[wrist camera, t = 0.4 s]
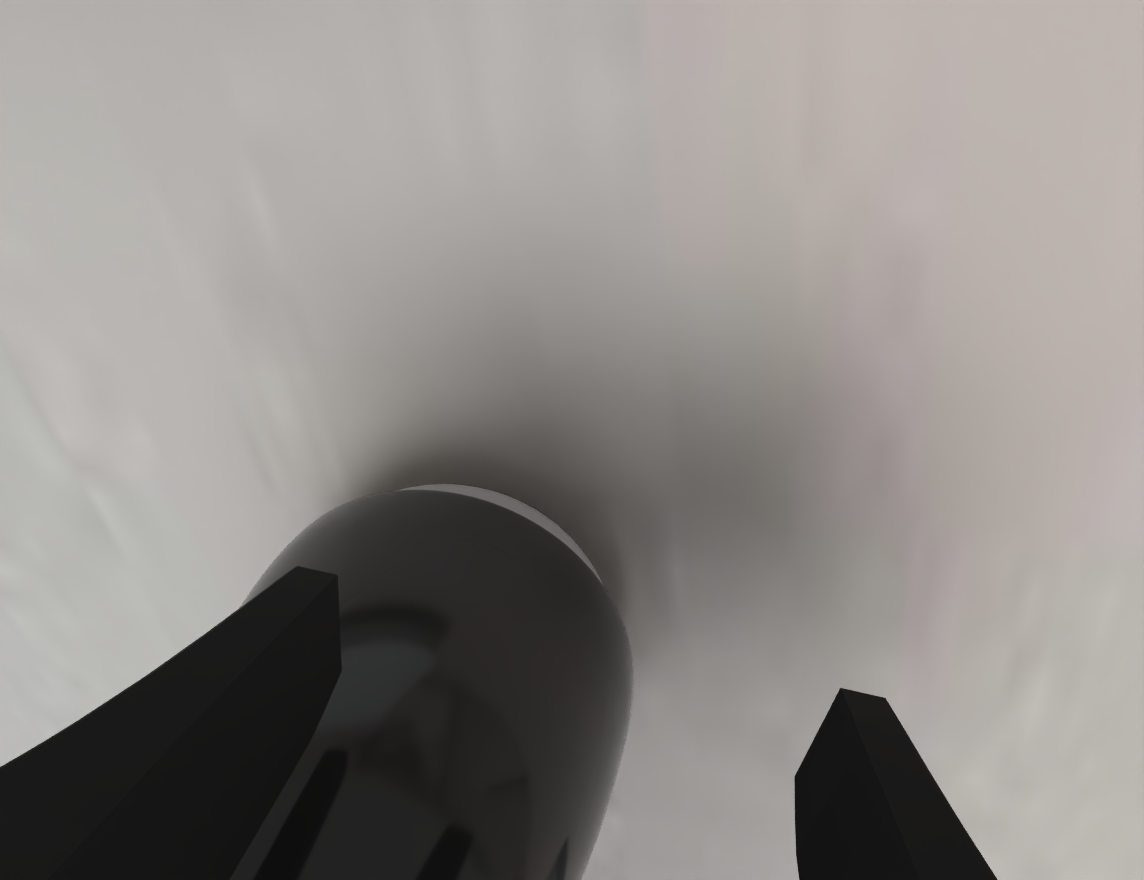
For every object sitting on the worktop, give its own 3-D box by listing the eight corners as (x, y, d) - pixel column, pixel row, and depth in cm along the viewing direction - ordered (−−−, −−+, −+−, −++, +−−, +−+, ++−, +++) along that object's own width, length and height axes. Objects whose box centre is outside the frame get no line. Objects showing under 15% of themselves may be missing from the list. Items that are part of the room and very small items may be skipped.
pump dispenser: (265, 489, 22) (-422, 1046, 8) (572, 390, 20) (303, 966, 6) (403, 736, 26) (66, 1442, 12) (684, 679, 23) (686, 1508, 9)
